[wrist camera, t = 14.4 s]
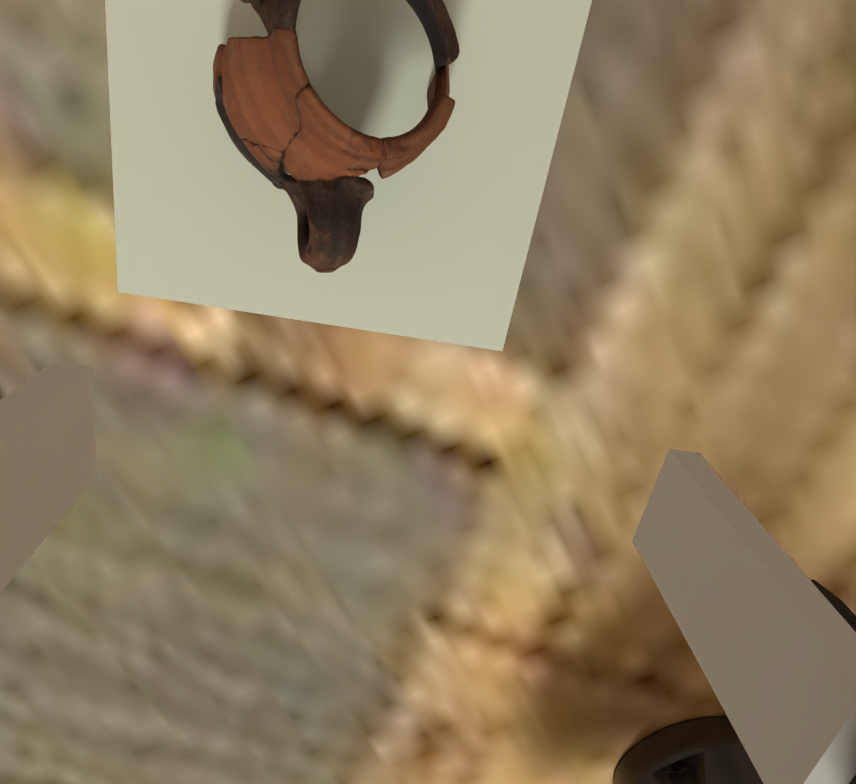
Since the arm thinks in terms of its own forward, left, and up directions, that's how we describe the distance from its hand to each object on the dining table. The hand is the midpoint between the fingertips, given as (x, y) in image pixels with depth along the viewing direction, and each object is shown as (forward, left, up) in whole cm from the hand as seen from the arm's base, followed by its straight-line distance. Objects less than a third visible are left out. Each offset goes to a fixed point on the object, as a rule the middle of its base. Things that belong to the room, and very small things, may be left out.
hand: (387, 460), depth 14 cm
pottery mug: (+4, -6, -19) cm, 20 cm away
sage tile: (+3, -6, -20) cm, 21 cm away
